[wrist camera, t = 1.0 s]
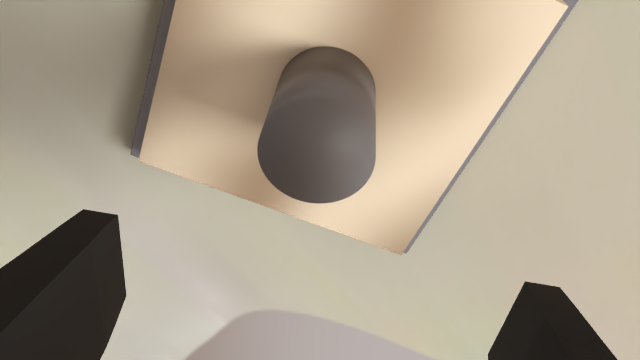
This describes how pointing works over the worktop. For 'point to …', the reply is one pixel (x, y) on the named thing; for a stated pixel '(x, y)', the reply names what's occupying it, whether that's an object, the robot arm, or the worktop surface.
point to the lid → (338, 101)
